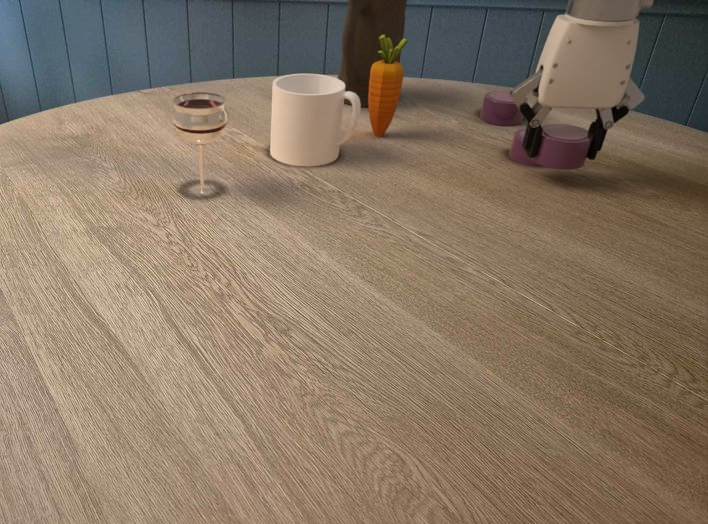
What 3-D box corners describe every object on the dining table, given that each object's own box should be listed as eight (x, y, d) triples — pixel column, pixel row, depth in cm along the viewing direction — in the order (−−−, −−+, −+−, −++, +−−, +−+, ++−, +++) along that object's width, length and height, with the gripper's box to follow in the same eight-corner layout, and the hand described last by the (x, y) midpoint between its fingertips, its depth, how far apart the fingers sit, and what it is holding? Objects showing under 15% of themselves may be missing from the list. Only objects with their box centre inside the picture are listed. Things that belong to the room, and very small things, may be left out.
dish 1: (517, 113, 113) (522, 90, 110) (526, 127, 107) (532, 103, 105) (476, 111, 113) (481, 89, 111) (483, 125, 108) (488, 102, 106)
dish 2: (550, 153, 98) (557, 128, 96) (562, 171, 93) (570, 145, 91) (503, 151, 99) (510, 126, 97) (513, 168, 94) (520, 143, 91)
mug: (259, 162, 95) (260, 89, 88) (284, 139, 102) (288, 70, 96) (342, 178, 91) (350, 102, 84) (363, 153, 98) (372, 81, 92)
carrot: (397, 136, 104) (413, 32, 94) (389, 146, 100) (405, 40, 91) (366, 131, 105) (379, 29, 96) (357, 141, 102) (370, 36, 92)
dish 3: (576, 150, 90) (584, 123, 88) (591, 170, 85) (601, 142, 83) (525, 149, 91) (532, 122, 88) (537, 168, 85) (544, 140, 83)
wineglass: (209, 178, 90) (207, 88, 83) (238, 196, 86) (238, 102, 79) (167, 190, 87) (160, 98, 80) (195, 209, 83) (191, 113, 75)
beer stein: (347, 84, 125) (357, -36, 111) (403, 92, 121) (420, -31, 108) (318, 114, 114) (325, -14, 101) (378, 123, 111) (393, -8, 97)
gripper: (668, 0, 79) (617, 146, 90) (518, -1, 80) (486, 142, 91) (695, 13, 73) (637, 168, 84) (532, 12, 74) (496, 164, 85)
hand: (559, 153), depth 87 cm, fingers closed on dish 3, 6 cm apart
